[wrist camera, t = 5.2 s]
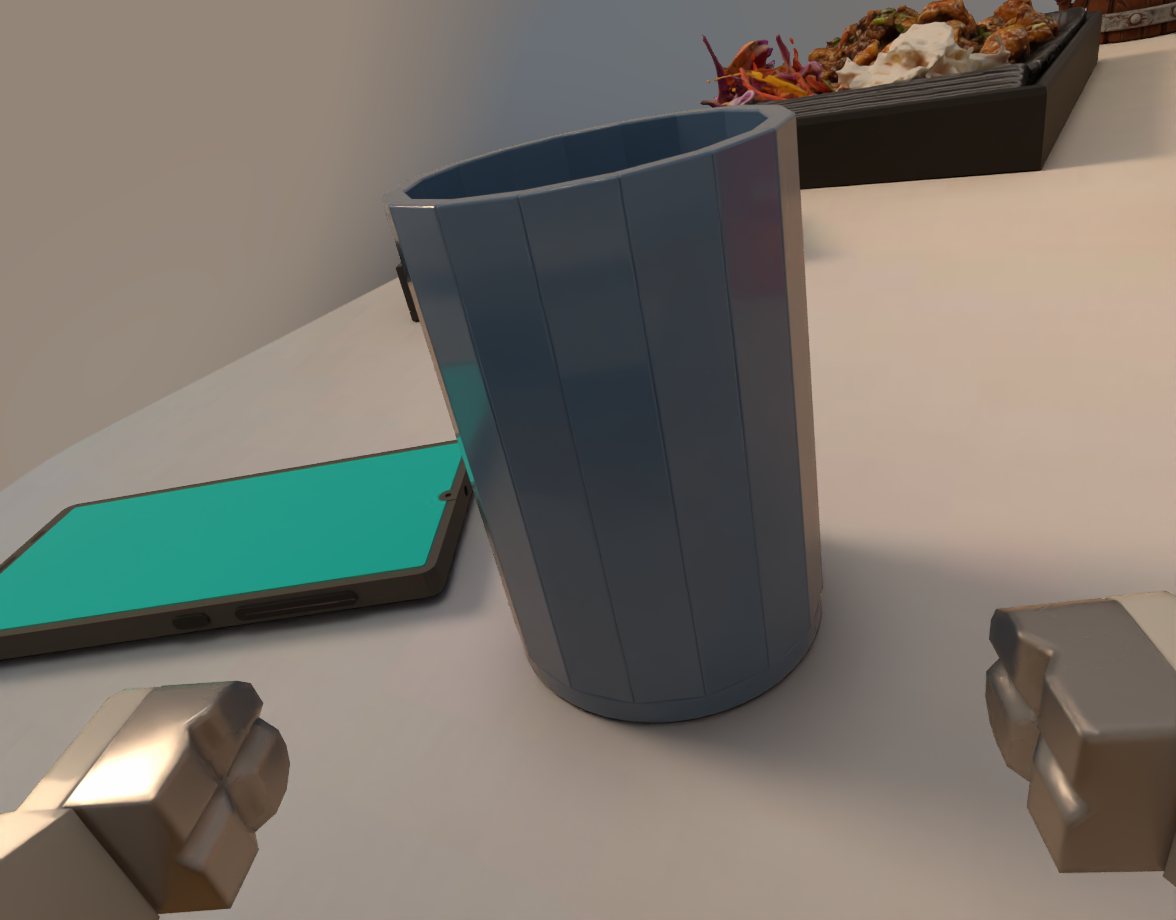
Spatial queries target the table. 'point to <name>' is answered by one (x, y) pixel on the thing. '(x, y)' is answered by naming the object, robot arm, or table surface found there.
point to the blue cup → (633, 398)
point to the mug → (1129, 17)
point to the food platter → (925, 91)
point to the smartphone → (237, 551)
